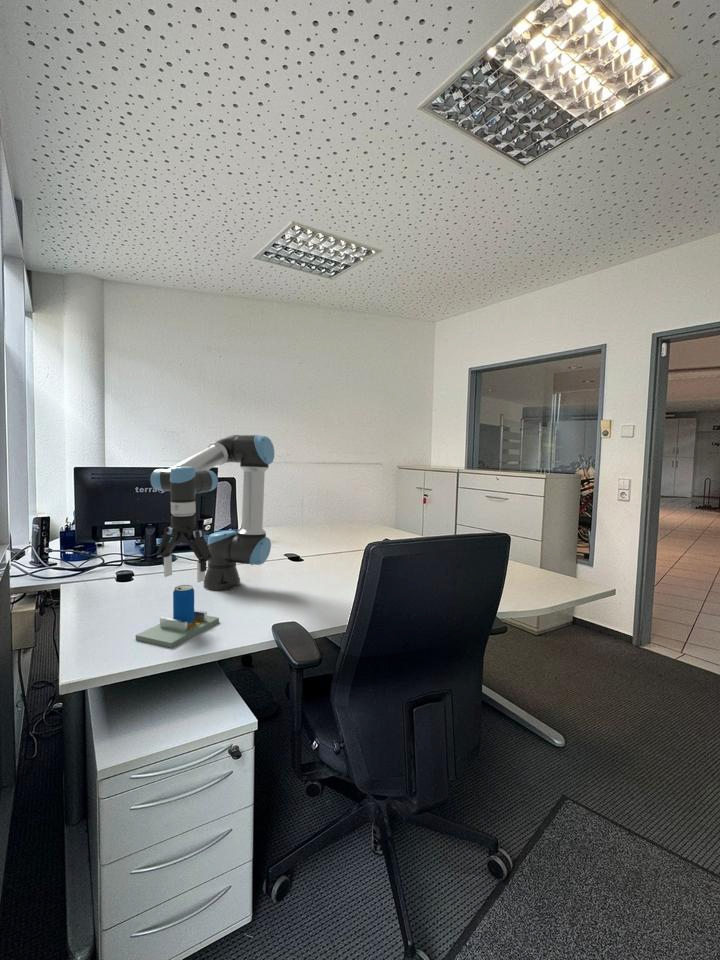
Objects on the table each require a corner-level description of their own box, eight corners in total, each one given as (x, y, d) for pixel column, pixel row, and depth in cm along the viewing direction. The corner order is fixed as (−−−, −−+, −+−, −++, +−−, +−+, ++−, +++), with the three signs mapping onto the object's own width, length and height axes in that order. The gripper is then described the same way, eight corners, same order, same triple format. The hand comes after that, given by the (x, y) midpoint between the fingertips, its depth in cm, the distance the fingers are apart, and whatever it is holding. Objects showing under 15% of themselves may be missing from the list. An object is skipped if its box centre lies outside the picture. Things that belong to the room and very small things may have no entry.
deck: (135, 639, 141) (135, 635, 141) (186, 615, 161) (186, 611, 161) (171, 647, 136) (171, 643, 136) (218, 622, 157) (218, 617, 156)
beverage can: (176, 619, 153) (176, 584, 153) (196, 619, 154) (196, 584, 153) (170, 627, 147) (170, 590, 146) (191, 626, 148) (191, 590, 147)
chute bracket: (159, 626, 147) (159, 617, 147) (183, 616, 157) (183, 607, 157) (184, 632, 144) (184, 622, 144) (206, 620, 154) (206, 612, 153)
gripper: (144, 513, 149) (146, 576, 151) (207, 519, 140) (207, 586, 142) (162, 509, 156) (163, 570, 158) (222, 515, 147) (223, 579, 149)
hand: (184, 578), depth 150 cm, fingers open, 13 cm apart
